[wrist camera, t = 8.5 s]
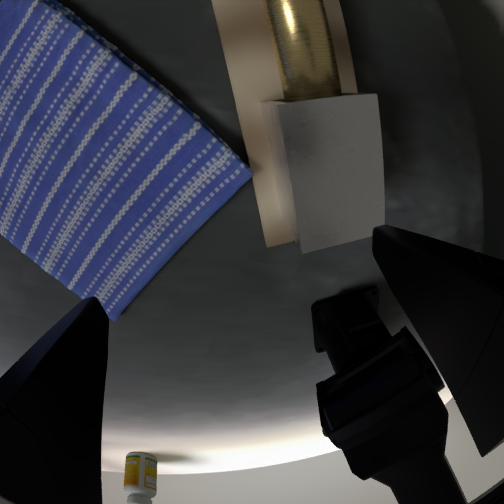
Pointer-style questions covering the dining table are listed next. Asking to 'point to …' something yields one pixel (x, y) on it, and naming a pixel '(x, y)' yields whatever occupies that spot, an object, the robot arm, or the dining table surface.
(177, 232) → the dish towel
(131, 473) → the supplement bottle
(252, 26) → the mounting board
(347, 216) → the sleeve
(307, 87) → the tube
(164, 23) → the dining table surface
